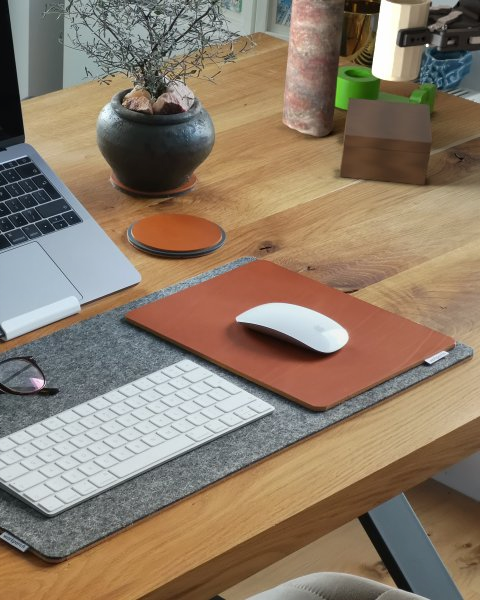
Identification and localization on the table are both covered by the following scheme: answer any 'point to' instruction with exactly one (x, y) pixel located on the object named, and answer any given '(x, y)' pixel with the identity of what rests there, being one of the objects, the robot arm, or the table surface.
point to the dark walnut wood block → (386, 141)
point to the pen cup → (387, 55)
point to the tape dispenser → (375, 89)
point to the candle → (313, 65)
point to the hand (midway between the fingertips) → (385, 30)
